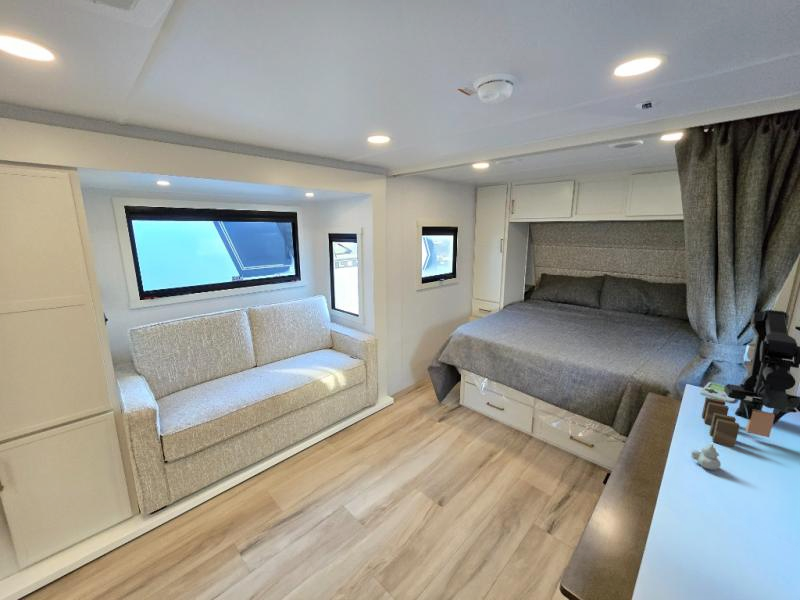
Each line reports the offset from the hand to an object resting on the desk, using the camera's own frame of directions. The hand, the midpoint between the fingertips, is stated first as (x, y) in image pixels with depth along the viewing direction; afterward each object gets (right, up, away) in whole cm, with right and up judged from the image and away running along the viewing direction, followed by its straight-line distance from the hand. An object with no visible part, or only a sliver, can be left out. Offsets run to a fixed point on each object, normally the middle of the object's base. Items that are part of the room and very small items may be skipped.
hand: (760, 421), depth 107 cm
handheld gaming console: (+18, 0, +31) cm, 36 cm away
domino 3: (-10, -7, +3) cm, 12 cm away
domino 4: (-12, -7, 0) cm, 14 cm away
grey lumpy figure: (-27, -10, -9) cm, 31 cm away
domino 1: (-4, -4, +13) cm, 14 cm away
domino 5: (0, -4, +1) cm, 5 cm away
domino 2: (-6, -5, +10) cm, 12 cm away
